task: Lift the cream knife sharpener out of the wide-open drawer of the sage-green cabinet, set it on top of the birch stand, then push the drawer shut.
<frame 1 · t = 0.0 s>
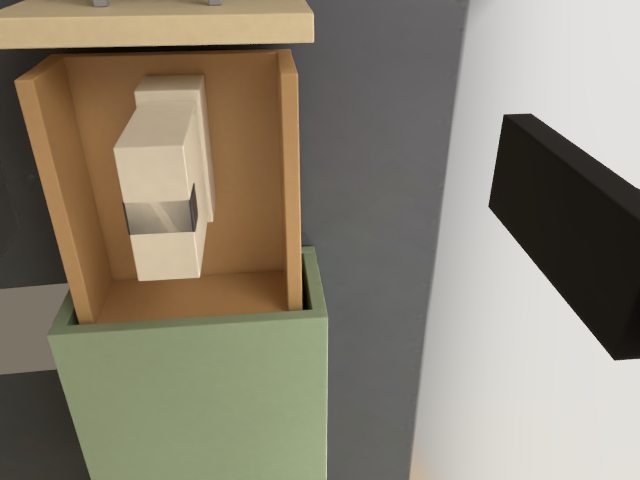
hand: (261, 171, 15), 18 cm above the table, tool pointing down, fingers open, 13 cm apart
sharpener: (182, 140, 30), point 2 cm above the table, touching drawer
drawer: (176, 135, 28), point 4 cm above the table, slide at 14.0 cm, touching sharpener
smartphone: (16, 331, 38), on the table
cabinet: (213, 356, 41), on the table
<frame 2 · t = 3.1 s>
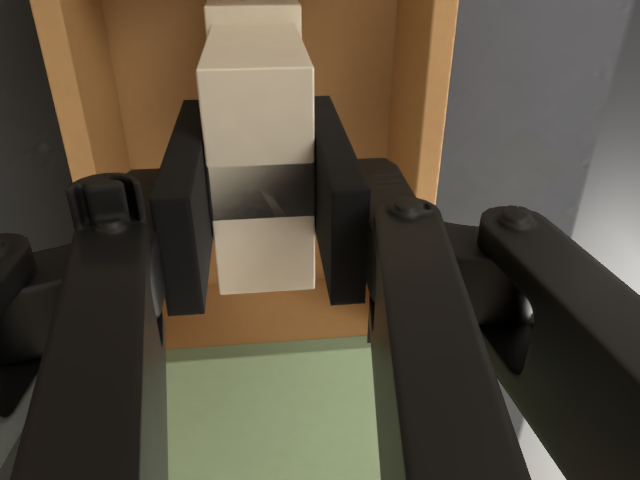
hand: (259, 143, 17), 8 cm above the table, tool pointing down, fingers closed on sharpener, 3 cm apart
sharpener: (257, 92, 22), point 2 cm above the table, touching gripper
drawer: (257, 81, 20), point 4 cm above the table, slide at 14.0 cm
cabinet: (273, 384, 32), on the table
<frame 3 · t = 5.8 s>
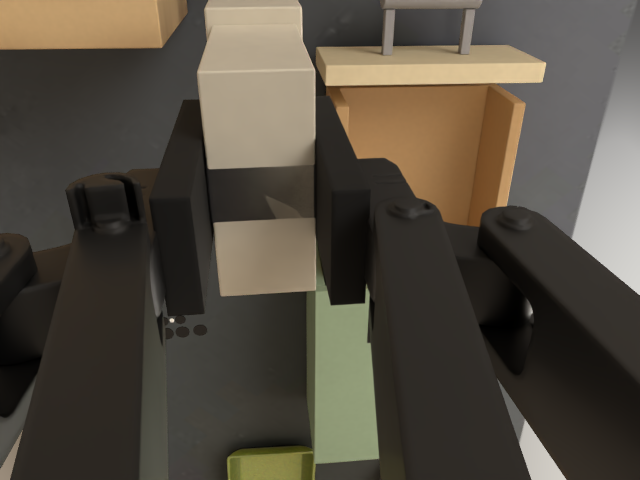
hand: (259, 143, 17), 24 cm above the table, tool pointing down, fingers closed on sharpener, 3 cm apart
sharpener: (258, 94, 22), point 18 cm above the table, touching gripper
drawer: (416, 145, 39), point 4 cm above the table, slide at 14.0 cm
olive green square tray: (271, 465, 59), on the table
smartphone: (242, 297, 49), on the table
cabinet: (387, 321, 51), on the table
when the fingers open (17 cm above the table, at t = 8.6 s): sharpener stays where it is, resting on stand.
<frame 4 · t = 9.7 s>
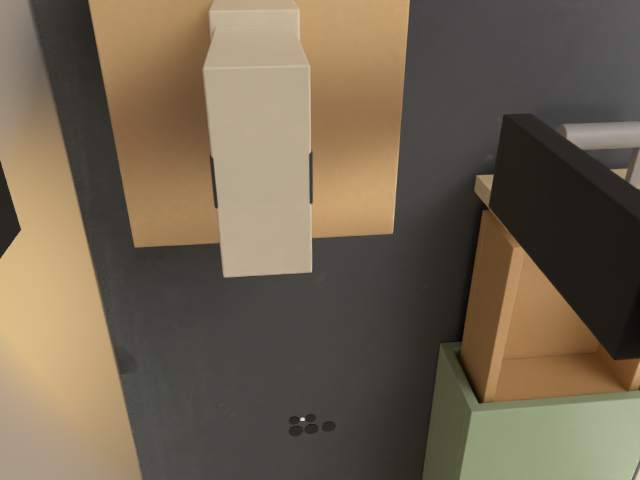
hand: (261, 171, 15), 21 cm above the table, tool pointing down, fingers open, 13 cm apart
sharpener: (258, 92, 23), point 12 cm above the table, touching stand
drawer: (572, 268, 39), point 4 cm above the table, slide at 14.0 cm
smartphone: (370, 394, 49), on the table
stand: (255, 37, 33), on the table
cabinet: (508, 412, 51), on the table
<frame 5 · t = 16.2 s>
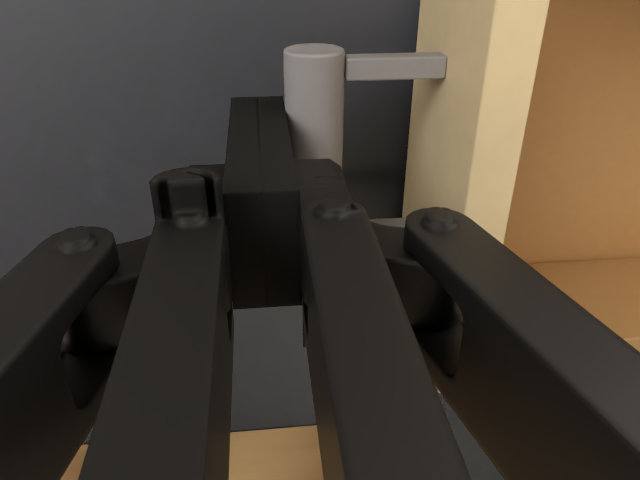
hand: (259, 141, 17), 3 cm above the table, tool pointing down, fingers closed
drawer: (631, 145, 17), point 4 cm above the table, slide at 13.8 cm, touching gripper
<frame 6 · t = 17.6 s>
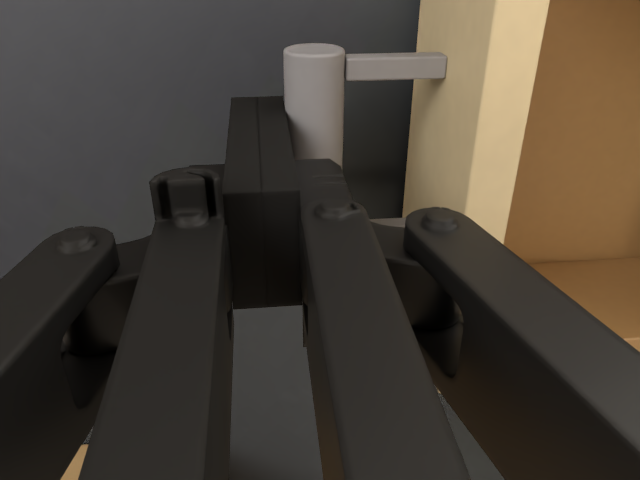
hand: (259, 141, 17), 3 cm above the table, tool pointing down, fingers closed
drawer: (631, 145, 17), point 4 cm above the table, slide at 6.8 cm, touching gripper
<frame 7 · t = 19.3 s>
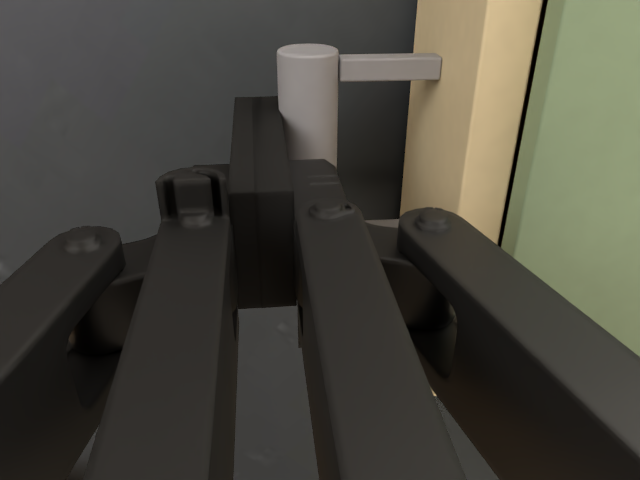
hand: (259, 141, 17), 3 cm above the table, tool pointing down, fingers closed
drawer: (630, 148, 17), point 4 cm above the table, slide at 0.0 cm, touching cabinet, gripper
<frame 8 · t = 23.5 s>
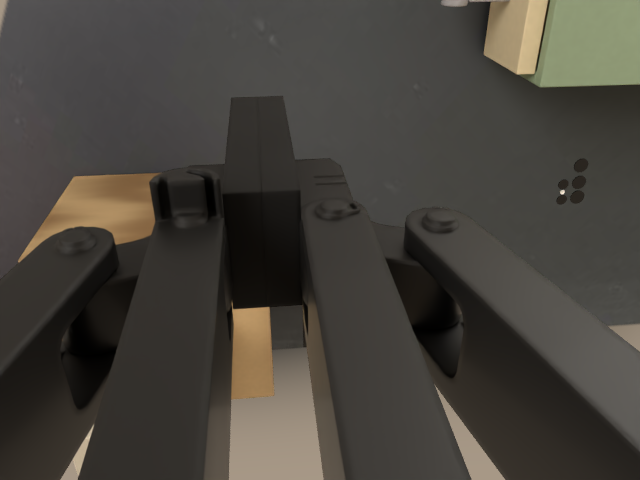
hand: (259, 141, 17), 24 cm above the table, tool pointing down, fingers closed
smartphone: (550, 122, 45), on the table
stand: (179, 240, 46), on the table
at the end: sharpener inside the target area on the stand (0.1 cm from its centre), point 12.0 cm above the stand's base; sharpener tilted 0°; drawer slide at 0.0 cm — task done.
